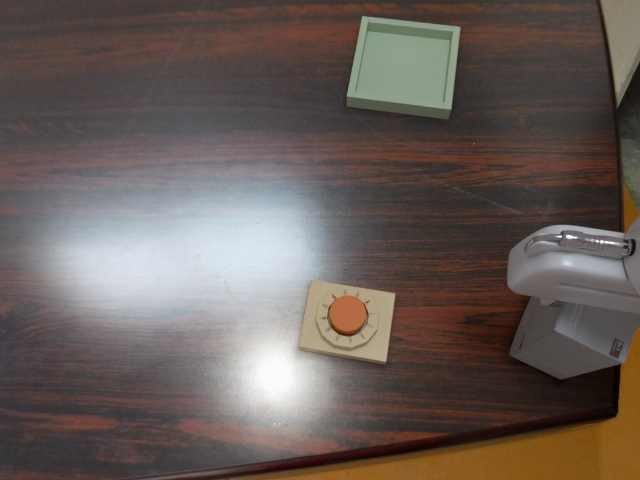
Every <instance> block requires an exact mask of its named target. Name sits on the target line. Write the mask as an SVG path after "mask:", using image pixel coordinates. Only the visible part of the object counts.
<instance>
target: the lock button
mask: <svg viewBox="0 0 640 480" xmlns="http://www.w3.org/2000/svg"><path fill="white" fill-rule="evenodd" d="M365 319H366V309H365V306H364V304H363V303H362V301H361V300H359V299H358V298H356V297H354V296H350V295H346V296H341V297H339V298H337V299H336V300H335V301H334V302H333V303H332V305H331V307H330V321H331V324H332V326H333V327H334V328H335V329H336V330H337V331H338V332H340V333H343V334H353V333H356V332H358V331H359V330H360V329H361V328H362V327H363V325H364V323H365Z"/></svg>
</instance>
